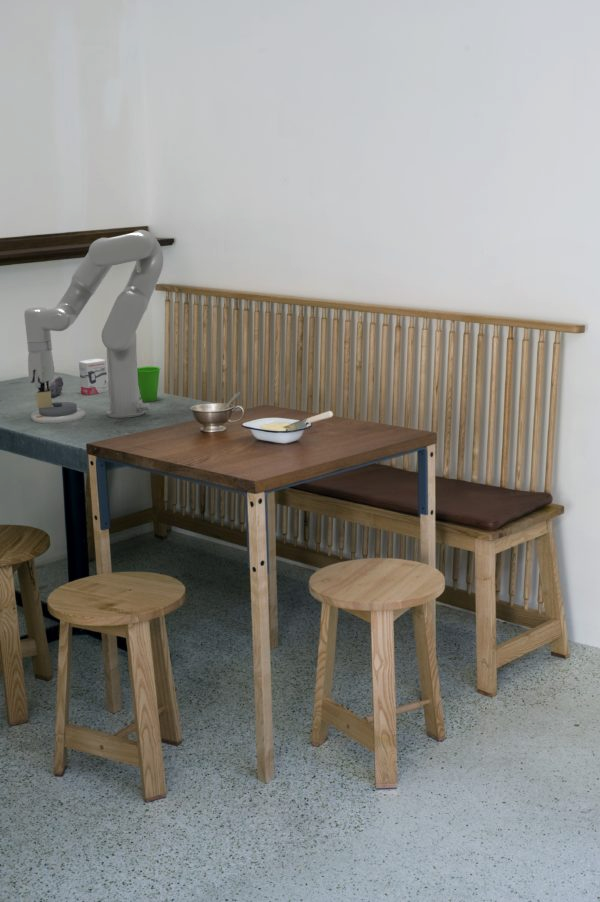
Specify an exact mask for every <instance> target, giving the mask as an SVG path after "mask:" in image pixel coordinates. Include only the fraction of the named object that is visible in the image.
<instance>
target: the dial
mask: <svg viewBox="0 0 600 902" xmlns="http://www.w3.org/2000/svg"><path fill="white" fill-rule="evenodd" d="M35 397H36V399H35V400H36V408H37V409H38V411H39V414H40V415H44V416H62V415H69V414H73V413H75V412H77V408H78V407H77V403H75V402H72V401H70V402H69V401H54V402H52V398H51V392H50V391H47V392H38V391H37V392H35Z"/></svg>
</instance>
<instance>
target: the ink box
mask: <svg viewBox="0 0 600 902" xmlns="http://www.w3.org/2000/svg"><path fill="white" fill-rule="evenodd" d="M78 367H79V380H80V383H79V384H80V392H81V394H82V395H86V396H92V395H97V394H104V393H109V385H108V372H107V359H106V360H105V359H103V358H99V357H98V358H97V357H96V358H91V359H85V360H80V361H79V362H78Z"/></svg>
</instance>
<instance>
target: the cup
mask: <svg viewBox="0 0 600 902" xmlns="http://www.w3.org/2000/svg"><path fill="white" fill-rule="evenodd" d="M160 370H161V367H159V366H152V365H151V366H140V367H137V372H138V387H139V396H140V399H142V402H146V403H150V402H156V401H157V399H158V388H159V380H160Z"/></svg>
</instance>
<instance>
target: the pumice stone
mask: <svg viewBox="0 0 600 902" xmlns="http://www.w3.org/2000/svg"><path fill="white" fill-rule="evenodd" d="M63 387H64V381H63V378H62V376H60V375H55V376H54V378H52V382H51V383H50V392H51V399H54V398H57V397H58V396H60V395H61V393H62V391H63ZM37 392H39V391H38V390H37Z"/></svg>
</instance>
